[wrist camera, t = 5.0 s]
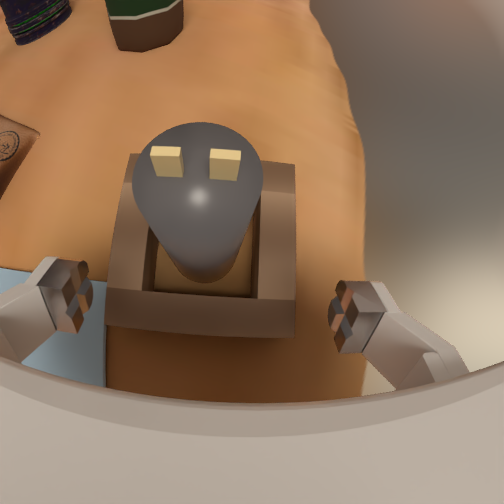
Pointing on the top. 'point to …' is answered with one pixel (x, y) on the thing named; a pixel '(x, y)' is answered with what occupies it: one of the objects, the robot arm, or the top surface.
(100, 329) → the mat
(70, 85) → the top surface
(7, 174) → the sunglasses case
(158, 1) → the beer bottle
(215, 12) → the top surface
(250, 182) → the plug
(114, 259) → the socket
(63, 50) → the top surface
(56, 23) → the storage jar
